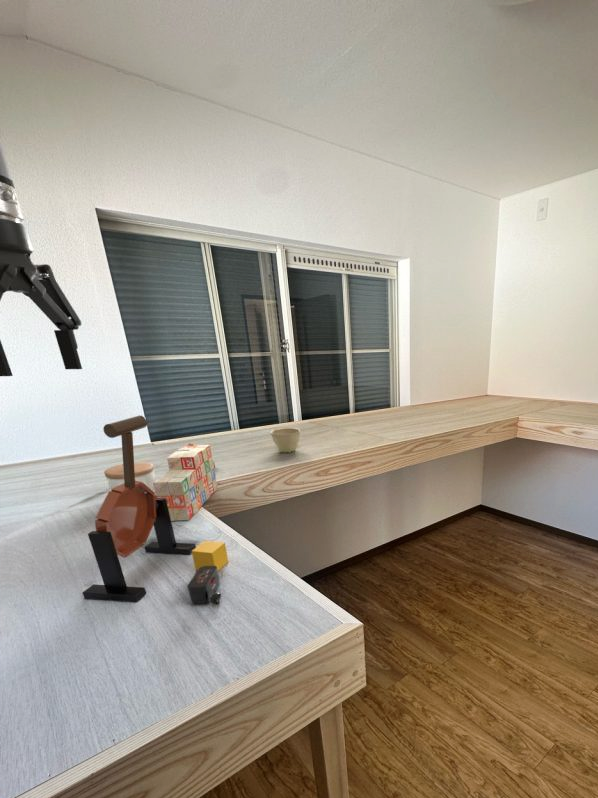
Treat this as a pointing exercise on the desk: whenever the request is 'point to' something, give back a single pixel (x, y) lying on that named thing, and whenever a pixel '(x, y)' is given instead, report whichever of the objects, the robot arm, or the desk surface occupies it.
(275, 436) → the flower pot
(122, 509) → the tipping bowl
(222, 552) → the block
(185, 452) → the stack of blocks
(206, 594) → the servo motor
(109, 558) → the bowl stand
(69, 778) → the desk surface
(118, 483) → the trinket box
